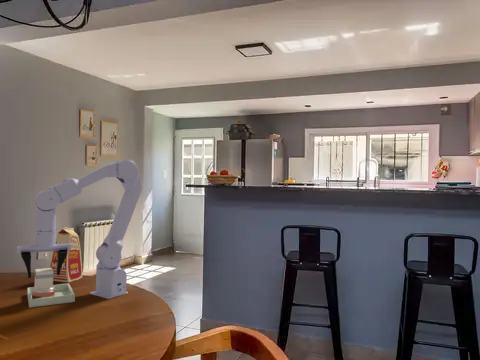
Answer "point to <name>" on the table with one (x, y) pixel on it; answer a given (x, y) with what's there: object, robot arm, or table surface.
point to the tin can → (43, 292)
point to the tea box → (43, 278)
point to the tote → (61, 296)
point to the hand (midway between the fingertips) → (44, 275)
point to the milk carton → (68, 257)
